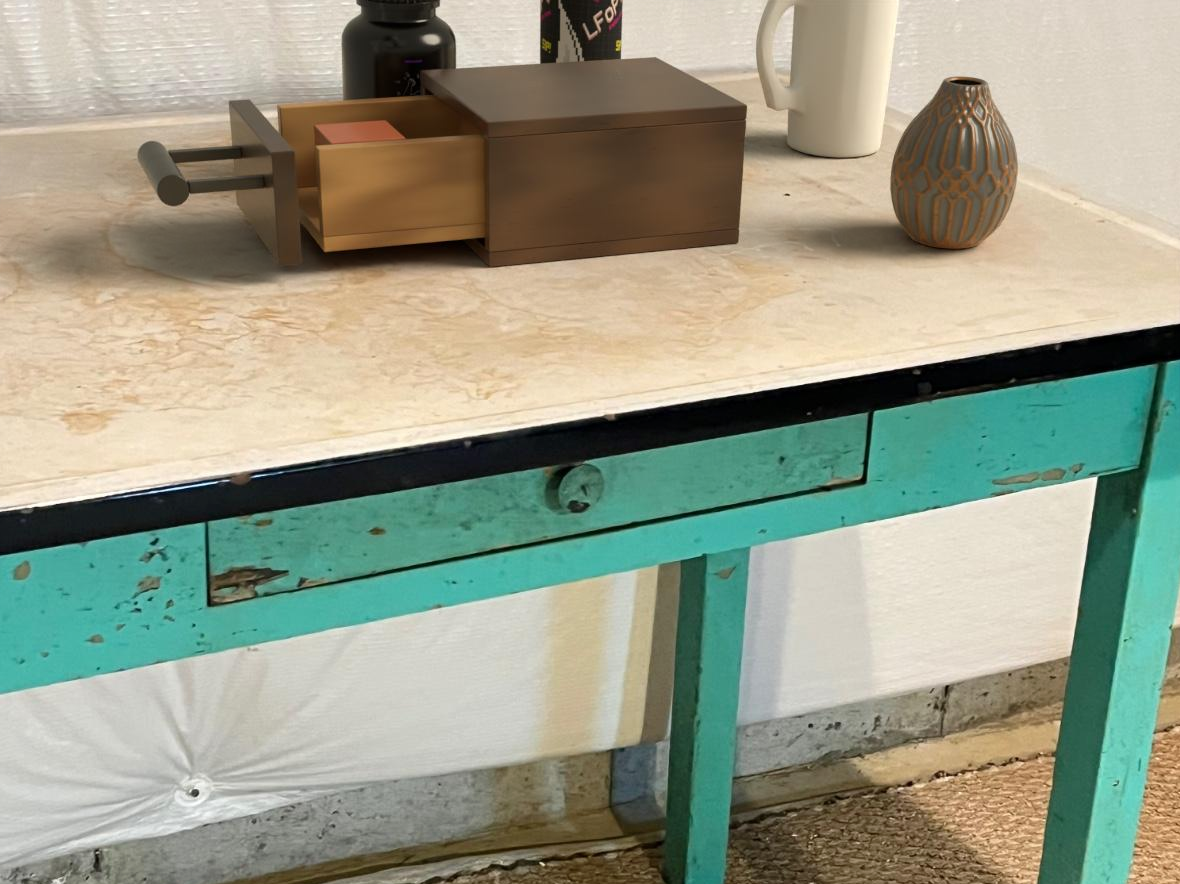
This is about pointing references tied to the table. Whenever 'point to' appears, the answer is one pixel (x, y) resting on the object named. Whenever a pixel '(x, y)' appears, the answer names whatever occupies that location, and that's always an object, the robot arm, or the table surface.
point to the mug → (831, 73)
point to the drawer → (341, 175)
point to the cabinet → (599, 157)
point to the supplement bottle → (394, 48)
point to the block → (355, 133)
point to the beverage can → (580, 30)
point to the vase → (954, 168)
